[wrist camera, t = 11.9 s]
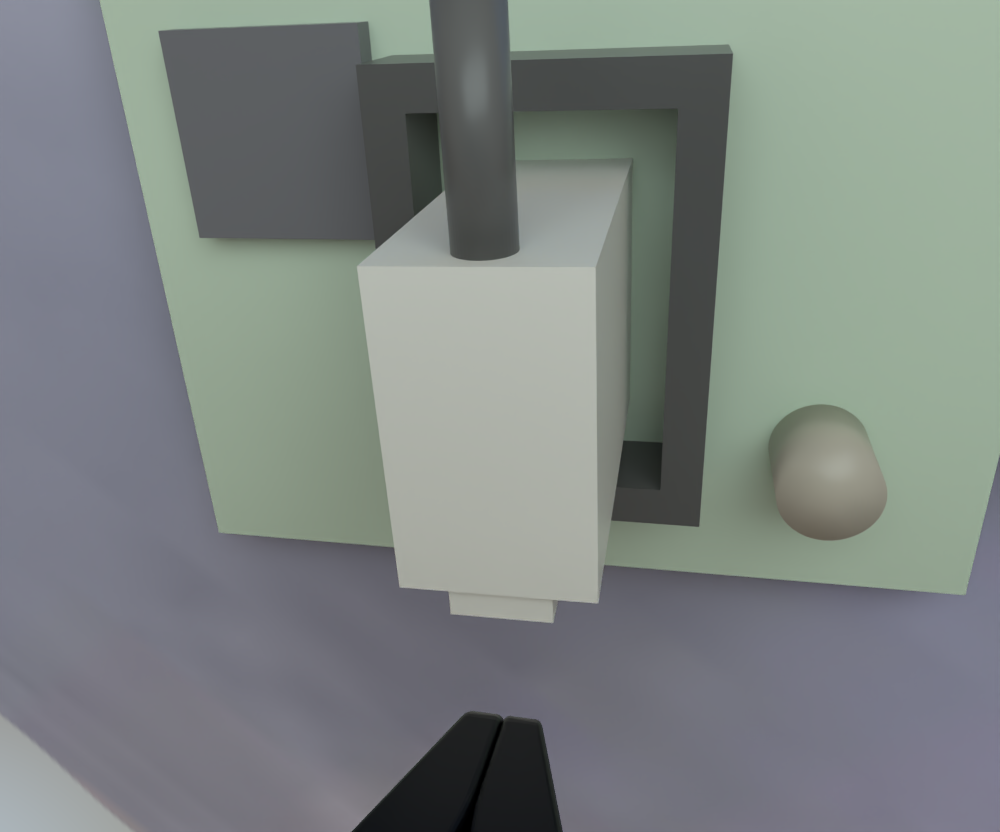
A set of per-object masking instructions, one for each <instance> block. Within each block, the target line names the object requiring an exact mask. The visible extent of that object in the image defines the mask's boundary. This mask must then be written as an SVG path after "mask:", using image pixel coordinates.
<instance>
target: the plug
mask: <svg viewBox="0 0 1000 832" xmlns="http://www.w3.org/2000/svg"><path fill="white" fill-rule="evenodd" d="M429 6H430V17H431V29H432V41H433V53H434V65H435V77H436V89H437V101H438V113H439V125H440V137H441V149H442V161H443V173H444V185H445V191H443V192H442V193H441V194H440V195H439V196H438V197H436V198H435V199H434V200H433V201H432V202H431V203H430V204H428V205H427V206H426V207H425V208H424V209H423V210H421V211H420V212H419V213H418V214H417V215H416V216H414V217H413V218H412V219H411V220H410V221H409V222H408V223H406V224H405V225H404V226H403V227H402V228H401V229H399V230H398V231H397V232H396V233H395V234H394V235H392V236H391V237H390V238H389V239H388V240H387V241H386V242H384V243H383V244H382V245H381V246H380V247H379V248H377V249H376V250H375V251H374V252H373V253H372V254H370V255H369V256H368V257H367V258H366V259H365V260H364V261H362V262H361V263H360V264H359V265H358V266H357V272H358V279H359V287H360V294H361V302H362V309H363V317H364V324H365V332H366V339H367V347H368V354H369V362H370V369H371V377H372V384H373V392H374V399H375V407H376V414H377V422H378V429H379V437H380V444H381V452H382V459H383V467H384V474H385V482H386V489H387V497H388V504H389V512H390V519H391V527H392V534H393V542H394V549H395V557H396V564H397V572H398V579H399V587H401V588H414V589H426V590H438V591H449V601H450V611H451V614H455V615H466V616H478V617H489V618H501V619H512V620H524V621H535V622H547V623H553V622H554V618H555V613H556V609H557V604H558V600H561V601H573V602H586V603H598V602H599V595H600V589H601V582H602V576H603V569H604V563H605V556H606V550H607V543H608V537H609V530H610V524H611V518H612V511H613V505H614V498H615V492H616V485H617V479H618V472H619V466H620V459H621V453H622V446H623V440H624V433H625V427H626V420H627V414H628V407H629V401H630V360H631V272H632V184H633V158H606V159H560V160H515V139H514V118H513V96H512V75H511V54H510V33H509V12H508V0H429Z"/></svg>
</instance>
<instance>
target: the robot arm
mask: <svg viewBox="0 0 1000 832" xmlns="http://www.w3.org/2000/svg"><path fill="white" fill-rule="evenodd" d="M352 832H563V830H562V825H561V820H560V815H559V810H558V805H557V800H556V795H555V789H554V784H553V779H552V774H551V769H550V764H549V759H548V754H547V748H546V743H545V738H544V733H543V728H542V725H541V723H540V722H539V721H538V720H536V719H528V718H521V717H513V716H508V717H506V718H505V719H504V720H503V718H502V717H501V716H500V715H498V714H490V713H483V712H475V711H470V712H467V713H465V714H464V715H463V716H462V717H461V718H460V719H459V720H458V721H457V722H456V723H455V724H454V725H453V726H452V727H451V728H450V729H449V730H448V731H447V732H446V734H445V735H444V736H443V737H442V738H441V739H440V740H439V741H438V742H437V743H436V744H435V745H434V746H433V747H432V748H431V749H430V750H429V751H428V752H427V753H426V754H425V755H424V757H423V758H422V759H421V760H420V761H419V762H418V763H417V764H416V765H415V766H414V767H413V768H412V769H411V770H410V771H409V772H408V773H407V774H406V775H405V776H404V777H403V779H402V780H401V781H400V782H399V783H398V784H397V785H396V786H395V787H394V788H393V789H392V790H391V791H390V792H389V793H388V794H387V795H386V796H385V797H384V798H383V799H382V800H381V802H380V803H379V804H378V805H377V806H376V807H375V808H374V809H373V810H372V811H371V812H370V813H369V814H368V815H367V816H366V817H365V818H364V819H363V820H362V821H361V822H360V824H359V825H358V826H357V827H356V828H355V829H354V830H353V831H352Z"/></svg>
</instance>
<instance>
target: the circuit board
mask: <svg viewBox="0 0 1000 832" xmlns="http://www.w3.org/2000/svg"><path fill="white" fill-rule="evenodd" d="M100 5H101V9H102V13H103V18H104V22H105V27H106V31H107V36H108V40H109V45H110V49H111V54H112V58H113V62H114V67H115V71H116V76H117V80H118V85H119V89H120V94H121V98H122V103H123V107H124V111H125V116H126V120H127V125H128V129H129V134H130V138H131V143H132V147H133V151H134V156H135V160H136V165H137V169H138V174H139V178H140V183H141V187H142V192H143V196H144V200H145V205H146V209H147V214H148V218H149V223H150V227H151V232H152V236H153V241H154V245H155V249H156V254H157V258H158V263H159V267H160V272H161V276H162V281H163V285H164V290H165V294H166V298H167V303H168V307H169V312H170V316H171V321H172V325H173V330H174V334H175V338H176V343H177V347H178V352H179V356H180V361H181V365H182V370H183V374H184V379H185V383H186V387H187V392H188V396H189V401H190V405H191V410H192V414H193V419H194V423H195V428H196V432H197V436H198V441H199V445H200V450H201V454H202V459H203V463H204V468H205V472H206V477H207V481H208V485H209V490H210V494H211V499H212V503H213V508H214V512H215V517H216V521H217V526H218V530H219V533H229V534H241V535H253V536H265V537H277V538H289V539H300V540H312V541H324V542H336V543H348V544H360V545H372V546H384V547H394V542H393V534H392V527H391V519H390V512H389V504H388V497H387V489H386V482H385V474H384V467H383V459H382V452H381V444H380V437H379V429H378V422H377V414H376V407H375V399H374V392H373V384H372V377H371V369H370V362H369V354H368V347H367V339H366V332H365V324H364V317H363V309H362V302H361V294H360V287H359V279H358V272H357V266H358V265H359V264H360V263H361V262H362V261H364V260H365V259H366V258H367V257H368V256H369V255H370V254H372V253H373V252H374V251H375V250H376V249H377V248H379V247H380V246H381V245H382V244H383V243H384V242H386V241H387V240H388V239H389V238H390V237H391V236H392V235H394V234H395V233H396V232H397V231H398V230H399V229H401V228H402V227H403V226H404V225H405V224H406V223H408V222H409V221H410V220H411V219H412V218H413V217H414V216H416V215H417V214H418V213H419V212H420V211H421V210H423V209H424V208H425V207H426V206H427V205H428V204H430V203H431V202H432V201H433V200H434V199H435V198H436V197H438V196H439V195H440V194H441V193H442V192H443V191H445V185H444V173H443V161H442V149H441V137H440V125H439V113H438V101H437V89H436V77H435V65H434V53H433V41H432V29H431V17H430V6H429V0H100ZM508 12H509V33H510V54H511V75H512V96H513V118H514V139H515V160H560V159H606V158H633V184H632V272H631V360H630V401H629V407H628V414H627V420H626V427H625V433H624V440H623V446H622V453H621V459H620V466H619V472H618V479H617V485H616V492H615V498H614V505H613V511H612V518H611V524H610V530H609V537H608V543H607V550H606V556H605V563H604V565H611V566H623V567H635V568H647V569H659V570H671V571H683V572H695V573H707V574H719V575H731V576H743V577H755V578H767V579H778V580H790V581H802V582H814V583H826V584H838V585H850V586H862V587H874V588H886V589H898V590H910V591H922V592H934V593H946V594H958V595H965V594H966V590H967V586H968V582H969V578H970V574H971V569H972V565H973V561H974V557H975V553H976V549H977V545H978V541H979V537H980V533H981V529H982V525H983V521H984V517H985V512H986V508H987V504H988V500H989V496H990V492H991V488H992V484H993V480H994V476H995V472H996V468H997V464H998V459H999V455H1000V0H508Z"/></svg>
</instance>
